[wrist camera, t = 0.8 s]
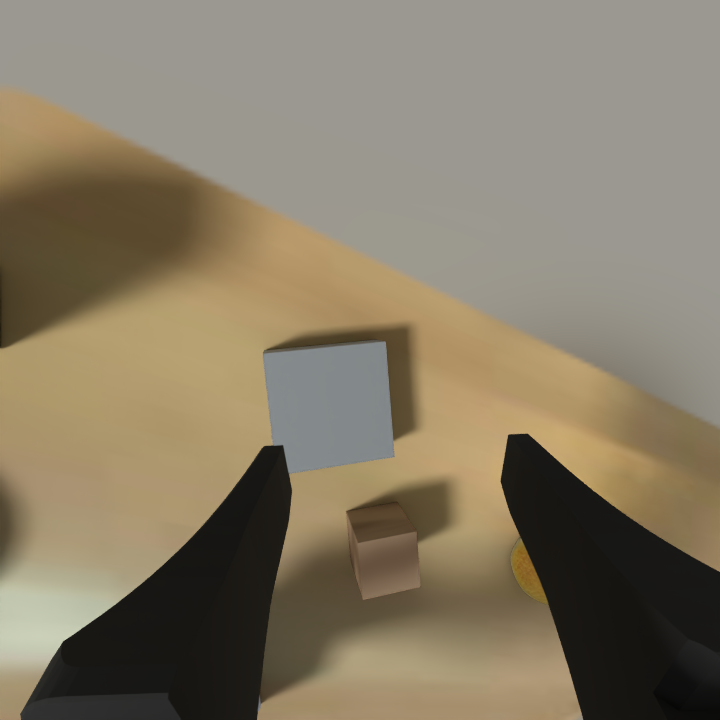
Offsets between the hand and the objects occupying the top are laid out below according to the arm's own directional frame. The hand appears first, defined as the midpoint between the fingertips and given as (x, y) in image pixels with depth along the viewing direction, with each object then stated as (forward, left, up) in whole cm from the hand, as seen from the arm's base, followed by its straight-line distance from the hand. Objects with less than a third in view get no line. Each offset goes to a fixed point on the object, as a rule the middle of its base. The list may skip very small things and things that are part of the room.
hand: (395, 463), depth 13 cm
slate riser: (-2, 0, -20) cm, 20 cm away
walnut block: (-14, -3, -20) cm, 25 cm away
